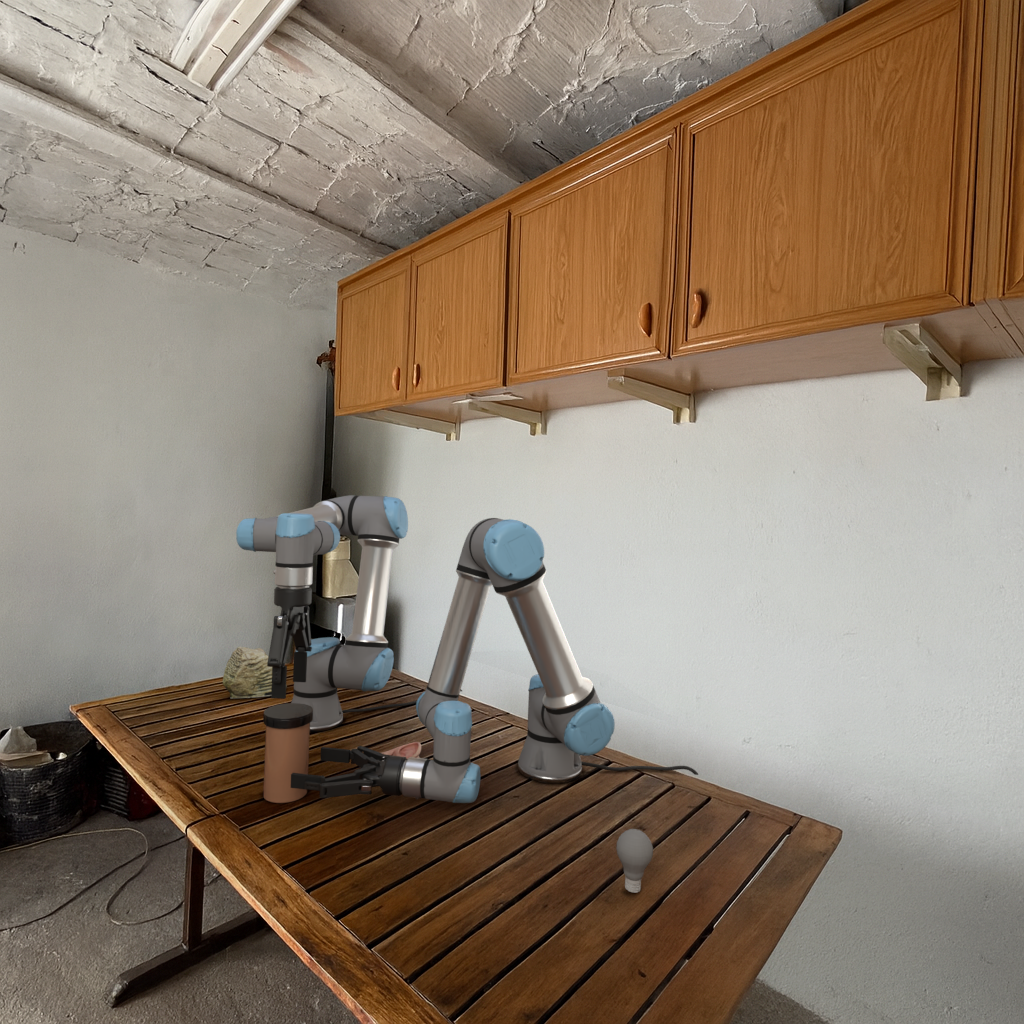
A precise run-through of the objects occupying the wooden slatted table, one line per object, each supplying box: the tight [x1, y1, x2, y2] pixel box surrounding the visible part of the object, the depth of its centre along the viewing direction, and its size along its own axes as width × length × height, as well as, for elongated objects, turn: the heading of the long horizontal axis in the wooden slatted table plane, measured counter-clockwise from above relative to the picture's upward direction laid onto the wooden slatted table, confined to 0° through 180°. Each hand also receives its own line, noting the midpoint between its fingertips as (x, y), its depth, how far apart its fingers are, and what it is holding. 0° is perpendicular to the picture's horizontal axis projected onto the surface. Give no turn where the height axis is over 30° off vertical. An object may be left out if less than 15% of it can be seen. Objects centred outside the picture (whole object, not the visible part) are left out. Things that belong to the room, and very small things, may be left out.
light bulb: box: [615, 828, 654, 894], centre depth 106 cm, size 6×6×10 cm
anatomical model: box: [381, 741, 422, 759], centre depth 152 cm, size 13×4×12 cm
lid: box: [262, 702, 313, 729], centre depth 134 cm, size 10×10×2 cm
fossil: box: [222, 646, 288, 699], centre depth 198 cm, size 9×18×15 cm, turn 132°
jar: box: [262, 723, 311, 804], centre depth 135 cm, size 9×9×17 cm
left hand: (289, 689), depth 134 cm, fingers open, 11 cm apart
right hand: (307, 766), depth 133 cm, fingers open, 13 cm apart
